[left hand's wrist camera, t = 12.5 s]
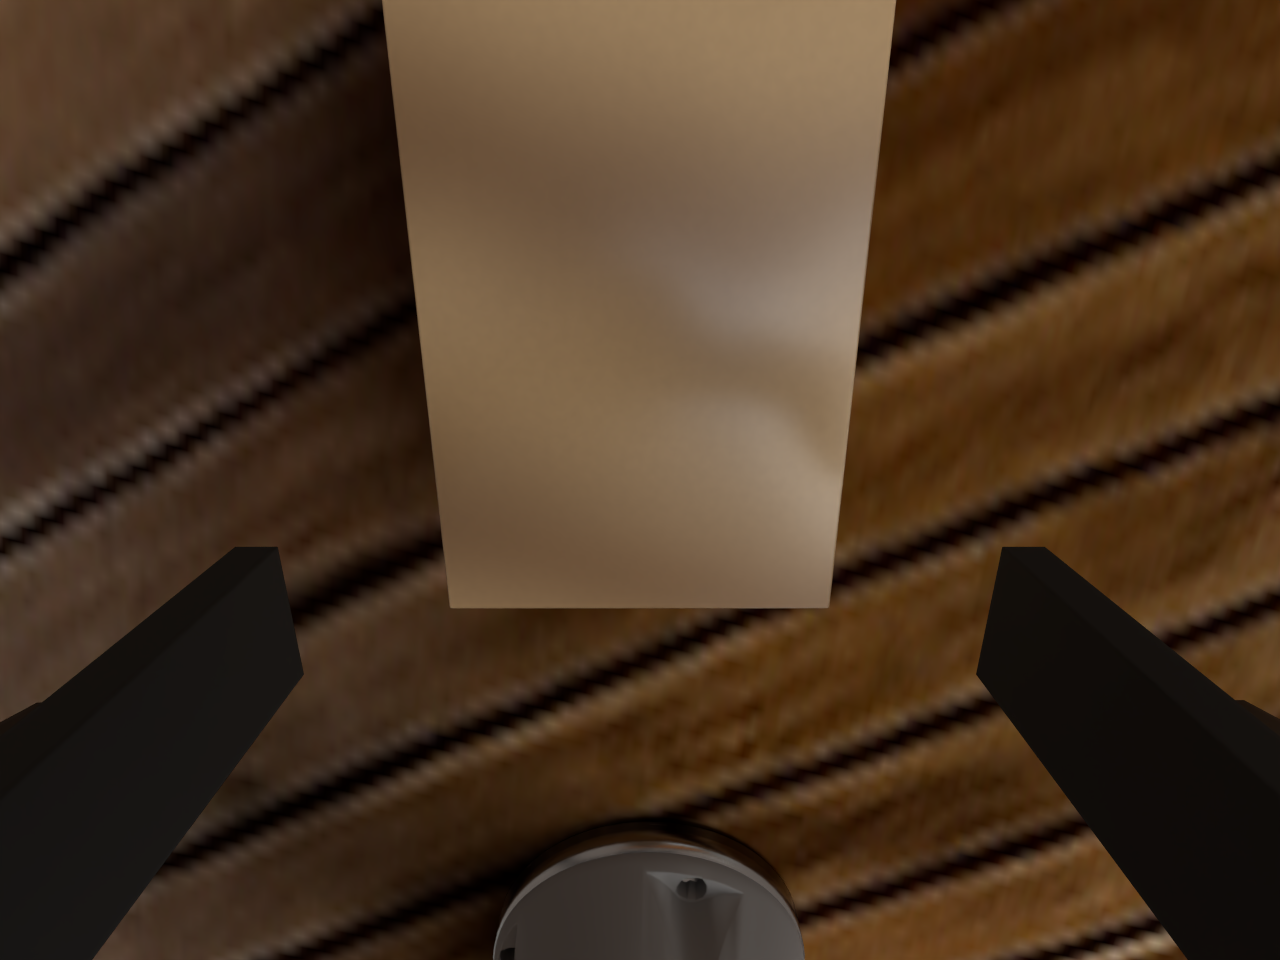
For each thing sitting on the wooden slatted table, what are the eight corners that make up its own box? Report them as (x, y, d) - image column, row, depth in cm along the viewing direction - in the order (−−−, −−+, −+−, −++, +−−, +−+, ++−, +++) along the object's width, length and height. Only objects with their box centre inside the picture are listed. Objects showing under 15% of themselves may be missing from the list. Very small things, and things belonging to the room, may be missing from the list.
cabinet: (452, -227, 19) (320, -544, 11) (825, -227, 19) (957, -546, 11) (505, 493, 27) (449, 609, 19) (773, 493, 27) (829, 608, 19)
